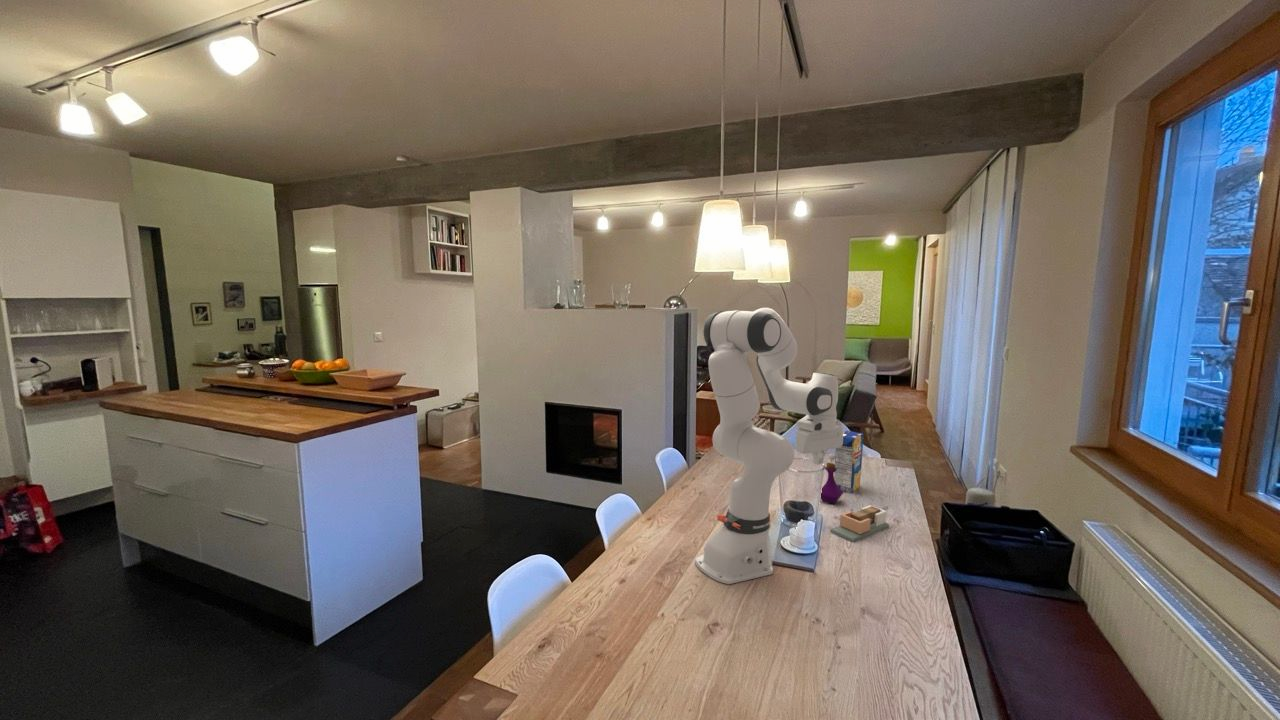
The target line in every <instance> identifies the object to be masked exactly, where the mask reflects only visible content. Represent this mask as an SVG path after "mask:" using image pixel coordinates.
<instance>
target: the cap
mask: <svg viewBox="0 0 1280 720" xmlns="http://www.w3.org/2000/svg"><path fill="white" fill-rule="evenodd" d="M852 513H854V512H853V510H852V511H851V510H850V511H846V512H845V513H841V514H840V517H839V526H842V527H844V528H847V529H849V530H851V531H854V532H856V533H858V534H862V533H864V532H867V531H869V530H870V522H871V519H869V518H868V519H865V520H863V521H858V520H856V519H853V518H851V517H850V514H852Z"/></svg>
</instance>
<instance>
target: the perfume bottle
mask: <svg viewBox="0 0 1280 720" xmlns="http://www.w3.org/2000/svg"><path fill="white" fill-rule="evenodd" d="M836 456H837V455H835V453H829V454H828V459H829V460H830V462H826V466H825V467H824V470H826V472H827V480H826V482H825V483H824V485H823V486H821V488H822V493H821V498H820V500H821V501H822V502H824V503H828V504H833V505H835V504H836V502H838V500H839V499H840V497H842V495H843V494H844V492H843V491H842V490H841V489H840V488H839V487H838V485H837V484H836V483H835V480H834V472H835V471H836V470H837V469H836V468H835V463H832V461H833V460H834V461H835V458H836Z"/></svg>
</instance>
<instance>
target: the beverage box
mask: <svg viewBox="0 0 1280 720" xmlns="http://www.w3.org/2000/svg"><path fill="white" fill-rule="evenodd" d="M864 436H865V435H864V433H862V432H856V431H850V430H845V431H843V444H842V446H841V447H839V448H835V453H834V455H837V456H836V458H835V459H834V465H835V468H836V469H837V470H836V471H835V472H834V474H833V475H834V480H835V483H836V484H837V485H838V487H839V488H840V489H841V490H842V491H843V493H848V494H853V493H854V491H856V490H857V489H858V488H859V487H861V477H862V462H863V448H864Z"/></svg>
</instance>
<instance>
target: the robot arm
mask: <svg viewBox="0 0 1280 720" xmlns="http://www.w3.org/2000/svg"><path fill="white" fill-rule="evenodd" d="M702 332H703V333H702V334H703V338H704V342H705V344H706V347H707V348H706V349H708V351H709V352H710V355H709V357H708V358H709V359H708V372H709V373H708V374H709V378H710V379H709V380H710V383H711V388H712V391H713V394H714V397H715V400H716V404H717V408H718V412H719V416H720V417H719V418H720V421H719V422H720V423H719V424H718V425H717V426H716V428H715V429H714V431H713V433H712V445H713V448H714V450H715V451H717V452H718V453H719V454H721V455H722V456H723V457H725V458H726V459H728V460H731V461H734V462H737V463H739V464H742V465H743V466H744V468H743V470H744V471H743V474H742V475H741V476H739V477H736V478H735V479H734V480H732V481H731V483H730V485H729V499H728V501H729V502H728V508H727V511H726V513H725V514H723V513H718V515H717V517H716V519H717V521H719V522H721V523H723V524H722V525H721V526H720V528H718V530H717V531H716V532H715V533H713V535H712V536H710V538H709V539H708V540H707V541H706V543H705V546H704V552H703V554H700V555H699V556H698V557H696V558H695V561H694V562H695V563H694V564H695V565H696V567H697V568H698V570H700V571H701V572H702V573H704V574H705V575H707V576H708V577H709V578H711V579H713V580H715V581H717V582H719V583H723V584H725V585H731V584H735V583H740V582H744V581H748V580H752V579H756V578H760V577H761V578H762V577H767V576H770V575H773V574H774V567H773V559H772V554H771V541H770V535H769V528H770V524H771V514H770V512H769V511H770V496H771V489H772V487H773V483H774V482H775V480H776V479H777V477H778V476H780V475H781V474H784V473H785V472H787V471H788V470H789V469H790V467H791V466H792V465H793V462H794V459H795V451H796V452H797V453H800V454H805V455H806V454H811V455H812V458H813V461H812V462H813V464H815V465H819V464H824V462H825V461H824V459H825V458H826V455H827V452H828V450H833V449H836V448H839V447H841V446H842V444H843V432H844V430H843V426H842V424H843V423H842V422H841V421H840V419H837V417H838V412H837V405H838V401H839V381H838V377H837V376H836V375H835V374H831V373H826V372H821V371H820V372H819V371H817V372H816V371H815V372H813V373H812V375H811V379H810V380H809V381H807V382H806V383H802V382H797V381H791V380H788V379H786V378H784V377H783V375H782V373H781V370H783V369H785V368H787V367H788V366H790V365H791V364H792V363H793V362H794V360H795V359H796V357H797V354H798V349H799V348H798V343H797V341H796V338H795V336H794V335H793V333H792V331H791V329H790V327H789V326H788V325H787V323H786V322H785V320H783V318H782V317H781V315H779V313H777V311H775V310H774V309H772V308H770V307H761V308H758V309H756V310H753V311H751V310H750V311H749V310H742V309H741V310H727V311H724V310H723V311H722V310H721V311H717V312H714V313H711V314H710V315H708V317H706V319H705V321H704V325H703V329H702ZM748 353H757V355H756V358H755V359H756V361H755V362H756V366H757V368H758V371H759V374H760V375H761V378H762V381H763V383H764V386H765V388H766V390H767V394H768V395H767V396H768V399H769V402H770V404H771V406H772V407H773V408H774V409H775V410H777V411H783V412H784V411H785V412H792V413H796V414H800V415H804V416H803V417H802V418H800V419H798V420H797V421H796V424H795V425H796V428H798V429H797V430H796V431H795V433H796V434H795V437H794V438H795V440H794V441H795V442H794V444H793V443H792V441H790V439H788V438H786V437H784V436H783V435H781V434H779V433H778V432H775V431H771V430H767V429H764V428H761V427H758V426H756V425H755V424H754V423H753V421H752V420H753V419H754V418H755V417H756V416H757V415H758V413H759V411H760V408H761V401H760V398H759V395H758V391H757V388H756V387H757V386H756V384H755V381H754V377H753V373H752V372H751V368H750V366H749V364H748V358H747V357H748ZM793 445H794V446H793ZM794 448H795V449H794Z"/></svg>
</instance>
